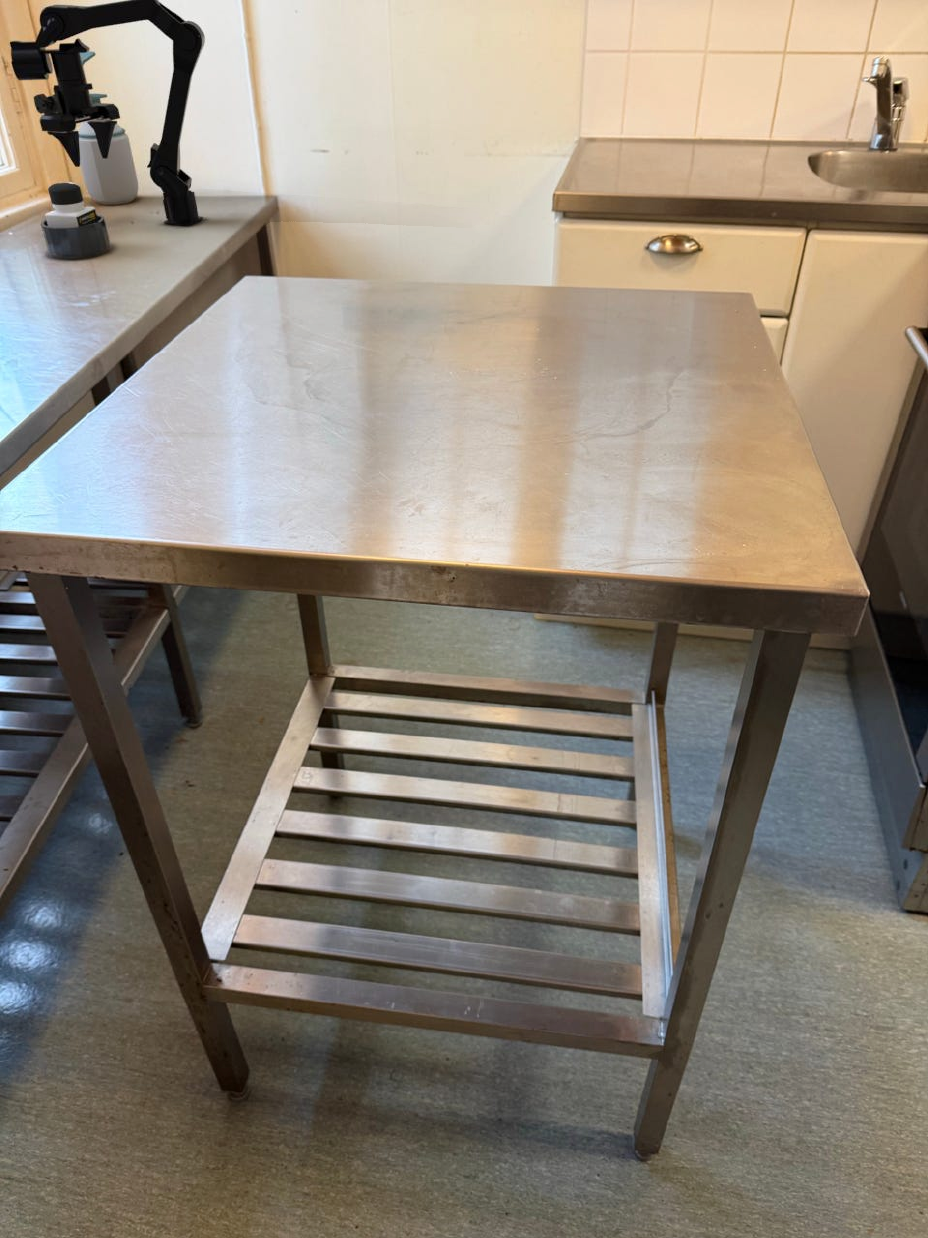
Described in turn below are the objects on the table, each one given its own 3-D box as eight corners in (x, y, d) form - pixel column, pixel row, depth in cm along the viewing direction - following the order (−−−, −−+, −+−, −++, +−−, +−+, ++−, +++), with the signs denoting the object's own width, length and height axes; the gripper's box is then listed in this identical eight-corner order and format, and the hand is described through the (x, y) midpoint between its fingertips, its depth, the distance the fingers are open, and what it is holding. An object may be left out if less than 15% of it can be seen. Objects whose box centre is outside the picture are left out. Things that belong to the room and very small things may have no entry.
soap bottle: (152, 197, 223) (121, 50, 204) (116, 208, 214) (80, 55, 195) (115, 193, 227) (81, 48, 208) (78, 203, 219) (40, 53, 200)
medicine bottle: (86, 252, 181) (69, 188, 174) (54, 250, 183) (36, 187, 175) (104, 243, 187) (88, 180, 180) (73, 241, 188) (56, 179, 181)
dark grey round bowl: (123, 245, 188) (116, 215, 184) (85, 261, 179) (77, 230, 175) (76, 241, 191) (68, 211, 188) (36, 256, 182) (27, 225, 179)
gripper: (69, 72, 193) (88, 152, 203) (7, 83, 179) (31, 168, 189) (112, 73, 190) (130, 154, 200) (52, 84, 176) (74, 171, 186)
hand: (91, 162), depth 194 cm, fingers open, 9 cm apart
